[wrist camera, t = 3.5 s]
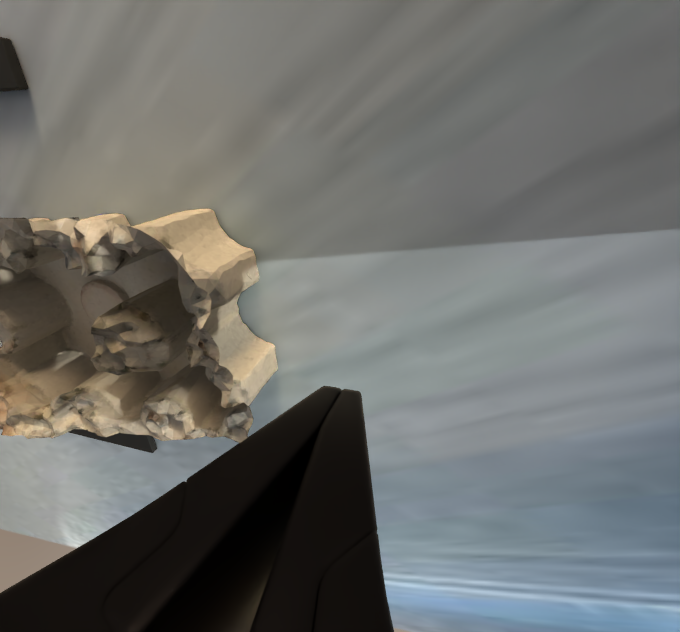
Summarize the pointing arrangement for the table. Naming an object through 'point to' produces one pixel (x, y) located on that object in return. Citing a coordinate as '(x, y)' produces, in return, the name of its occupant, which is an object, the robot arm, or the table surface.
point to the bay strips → (7, 75)
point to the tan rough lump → (127, 328)
